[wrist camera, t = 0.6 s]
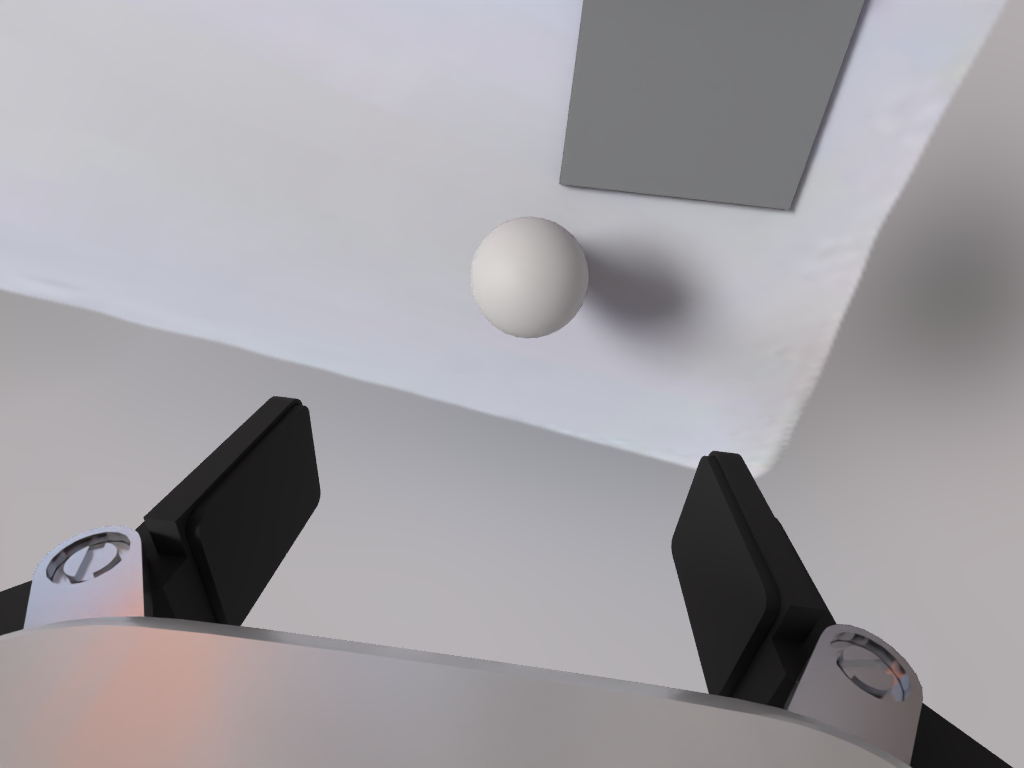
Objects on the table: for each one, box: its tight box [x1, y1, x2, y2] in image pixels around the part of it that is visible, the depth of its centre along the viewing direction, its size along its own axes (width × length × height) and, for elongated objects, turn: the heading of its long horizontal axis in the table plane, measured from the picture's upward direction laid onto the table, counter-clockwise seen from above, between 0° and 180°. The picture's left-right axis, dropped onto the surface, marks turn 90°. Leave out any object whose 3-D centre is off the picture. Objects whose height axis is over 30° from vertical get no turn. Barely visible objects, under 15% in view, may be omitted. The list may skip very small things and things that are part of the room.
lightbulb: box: [470, 217, 589, 338], centre depth 27 cm, size 6×6×11 cm
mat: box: [559, 0, 865, 210], centre depth 25 cm, size 18×14×1 cm
